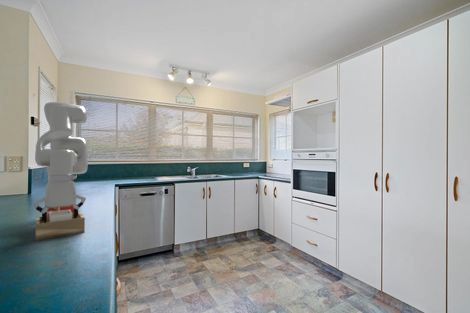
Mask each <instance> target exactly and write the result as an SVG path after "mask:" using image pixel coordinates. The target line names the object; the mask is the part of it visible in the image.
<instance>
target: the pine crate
mask: <svg viewBox="0 0 470 313" xmlns="http://www.w3.org/2000/svg"><path fill="white" fill-rule="evenodd" d="M73 214H74V213H72V219H69V220H62V221H55V222H49V216H47V223H44V221H42V216H36V219H35V242H37V241H44V240H49V239H55V238H60V237H66V236H72V235H78V234H84V233H86V232H85V223H86V222H85V220H86V218H85V215H83V213H82V212H81V211H78V216H76V219H74V218H73Z"/></svg>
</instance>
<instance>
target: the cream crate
mask: <svg viewBox="0 0 470 313" xmlns="http://www.w3.org/2000/svg"><path fill="white" fill-rule="evenodd" d="M69 219H72V212H71V210H62V211H53V212H49V222H55V221H62V220H69Z"/></svg>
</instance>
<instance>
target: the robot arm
mask: <svg viewBox="0 0 470 313" xmlns="http://www.w3.org/2000/svg"><path fill="white" fill-rule="evenodd" d="M43 110H44V117H45V119H46V121H47V123H48V127H49V130H48V131H46V132H44V133H43V134H42V135H41V136H40V137H39V138H38V140H37V141H36V144H35V151H34V152H35V153H34V159H35V160H34V161H35V163H36V165H37V166H39V167H44V168H45V167H46V173H47V183H46V186H45V191H44V197H42V198H39V199H37V200H35V201H33V202H32V205H33V207H34V208H35V210H37V211H38V212H39V213H41V217H42V221H44V223H47V212H46V211H47V210H48V209H49V208H54V207H63V206H71V205H72V206H73V207H74V214H73V218H74V219H76V216H78V212H79V209H80V208H81V207H82V206H83V205H84V203H85V202H86V200H87V197H84V196H81V195H78V194H77V191H76V183H75V181H74V180H76V179H77V175H81V174H85V173H87V171H88V166H89V164H88V163H89V162H88V143H87V141H86V139H84V138H82V137H74V136H73V132H74V131H73V124H80V125H81V124H85V123H86V122H87V119H88V114H87V113H88V112H87V110H86V108H85V107H84V106H83V105H80V104H79V105H78V104H71V103H64V102H58V101H57V102H55V101H52V102H51V101H50V102H49V101H48V102H46V103H45V104H44V107H43ZM72 136H73V137H72ZM48 144H50V148H45V147H46V146H47V145H48ZM77 199H78V200H80V202H79V203H78V204H77ZM43 202H44V207H41V206H40V205H39V204H41V203H43Z"/></svg>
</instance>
